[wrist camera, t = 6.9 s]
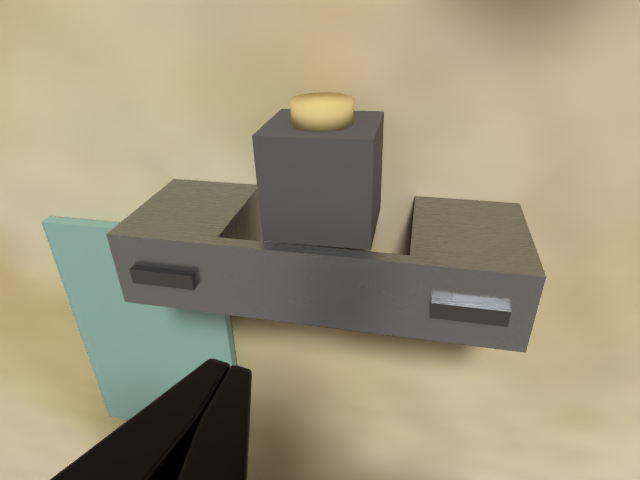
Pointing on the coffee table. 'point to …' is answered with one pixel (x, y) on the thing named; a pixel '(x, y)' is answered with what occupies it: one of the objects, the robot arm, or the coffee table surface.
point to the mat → (129, 322)
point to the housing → (335, 268)
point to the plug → (320, 172)
